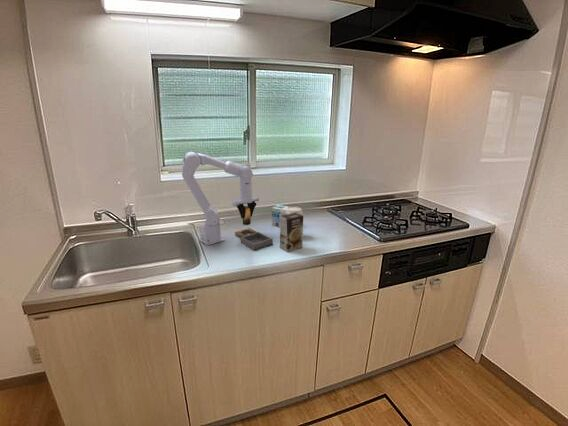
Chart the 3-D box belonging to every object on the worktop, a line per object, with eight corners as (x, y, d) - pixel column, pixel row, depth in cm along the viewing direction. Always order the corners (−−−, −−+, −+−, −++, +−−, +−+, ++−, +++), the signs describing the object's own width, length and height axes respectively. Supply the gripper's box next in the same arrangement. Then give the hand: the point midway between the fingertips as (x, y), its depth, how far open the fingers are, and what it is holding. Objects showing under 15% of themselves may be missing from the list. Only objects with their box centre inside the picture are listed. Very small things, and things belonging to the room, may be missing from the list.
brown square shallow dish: (244, 240, 156) (244, 236, 156) (235, 235, 163) (235, 231, 162) (259, 236, 162) (259, 232, 161) (249, 231, 168) (249, 227, 167)
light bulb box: (271, 225, 177) (271, 207, 173) (277, 222, 182) (277, 204, 179) (288, 229, 172) (288, 210, 169) (293, 225, 178) (294, 207, 174)
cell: (245, 225, 157) (245, 207, 154) (241, 223, 160) (240, 206, 157) (252, 223, 160) (251, 206, 157) (247, 221, 163) (247, 204, 160)
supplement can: (292, 232, 167) (293, 205, 163) (305, 236, 162) (306, 208, 158) (282, 237, 161) (283, 209, 157) (295, 241, 156) (296, 212, 152)
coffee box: (287, 252, 144) (288, 219, 139) (279, 247, 149) (279, 215, 144) (302, 247, 149) (304, 215, 144) (294, 243, 154) (295, 211, 149)
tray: (253, 250, 146) (253, 244, 145) (240, 243, 154) (240, 237, 153) (272, 244, 153) (272, 238, 152) (259, 237, 160) (258, 232, 160)
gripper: (237, 195, 147) (238, 222, 152) (262, 190, 156) (262, 216, 161) (229, 192, 152) (230, 218, 157) (254, 187, 161) (254, 212, 166)
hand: (246, 217), depth 159 cm, fingers closed on cell, 4 cm apart
